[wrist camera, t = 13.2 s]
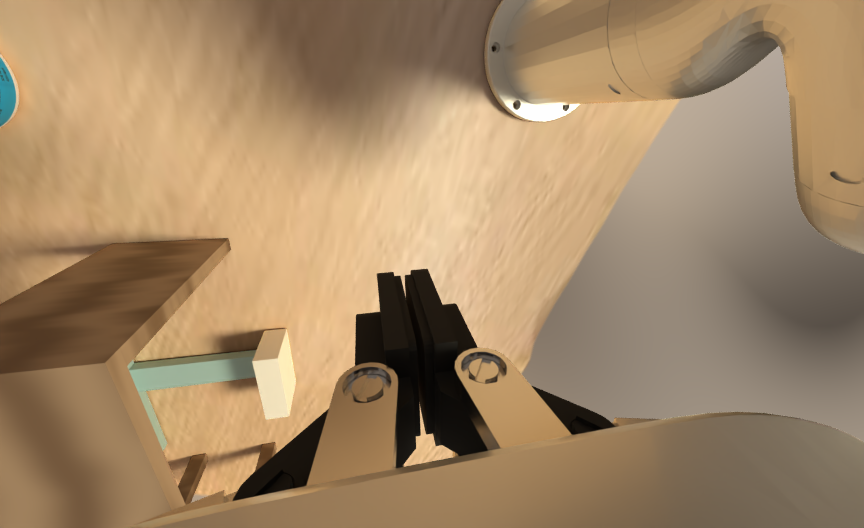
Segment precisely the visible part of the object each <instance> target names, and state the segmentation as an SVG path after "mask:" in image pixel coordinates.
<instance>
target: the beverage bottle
mask: <svg viewBox="0 0 864 528" xmlns="http://www.w3.org/2000/svg"><path fill="white" fill-rule="evenodd" d="M18 105H19V88H18V84H17V81H16V78H15V76H14V74H13V72H12V70H11V68H10V66H9V65H8V63H7V62H6V60H5V59H4V57H3V56H2V55H1V54H0V128H1V127H3V126H4V125H6V124H7V123H8V122H9V121H10V120H11V119H12V118H13V117H14V115H15V113H16V111H17V109H18Z"/></svg>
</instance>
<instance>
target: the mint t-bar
mask: <svg viewBox="0 0 864 528" xmlns="http://www.w3.org/2000/svg"><path fill="white" fill-rule="evenodd" d="M127 367H128V369H129V372H130V374H131V377H132V379H133V381H134V384H135V386H136V388H137V391H138V393H139V396H140V398H141V400H142V403H143V405H144V407H145V410H146V412H147V414H148V417H149V419H150V422H151V424H152V426H153V429H154V431H155V433H156V436H157V438H158V440H159V443H160V445H161V448H162V450H164V449H165V447H166V445H167V441H166V439H165V437H164V434H163V432H162V429H161V427H160V424H159V422H158V419H157V417H156V415H155V412H154V410H153V407H152V405H151V402H150V400H149V397H148V395H147V393H146V391H149V390H157V389H165V388H174V387H182V386H190V385H198V384H206V383H214V382H222V381H230V380H238V379H246V378H254V377H256V380H257V384H258V388H259V393H260V397H261V401H262V405H263V410H264V414H265V418H266V420H267V419H274V418H281V417H288V416H289V414H290V410H291V405H292V400H293V395H294V390H295V385H296V379H295V373H294V367H293V362H292V356H291V350H290V344H289V339H288V333H287V329H277V330H267V331H264V333H263V336H262V338H261V341H260V343H259V346H258V348H257V350H250V351H241V352H231V353H222V354H213V355H204V356H194V357H185V358H176V359H167V360H157V361H148V362H139V363H134V361H133V360H132V361H131V362H130V363H129V365H128V366H127Z"/></svg>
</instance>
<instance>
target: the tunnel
mask: <svg viewBox="0 0 864 528" xmlns="http://www.w3.org/2000/svg"><path fill="white" fill-rule="evenodd" d="M230 250H231V248H230V243H229V239H205V240H183V241H160V242H138V243H116V244H111V245H109V246H107V247H105V248H104V249H102V250H100V251H98V252H96V253H94V254H92V255H91V256H89V257H87V258H85V259H83V260H81V261H79V262H78V263H76V264H74V265H72V266H70V267H68V268H67V269H65V270H63V271H61V272H59V273H57V274H55V275H54V276H52V277H50V278H48V279H46V280H44V281H42V282H41V283H39V284H37V285H35V286H33V287H31V288H30V289H28V290H26V291H24V292H22V293H20V294H18V295H17V296H15V297H13V298H11V299H9V300H7V301H5V302H4V303H2V304H0V528H126V527H129V526H132V525H135V524H138V523H140V522H143V521H145V520H148V519H151V518H153V517H156V516H158V515H161V514H164V513H166V512H169V511H171V510H174V509H177V508H179V507H182V506H184V505H187V504H189V503H191V501H192V498H193V496H194V493H195V491H196V488H197V486H198V484H199V481H200V479H201V476H202V474H203V471H204V469H205V467H206V464H207V462H208V458H207V455H206V454H200V455H194V456H192V458H191V460H190V462H189V464H188V466H187V468H186V470H185V473H184V475H183V477H182V479H181V481H180V483H179V485H177V483H176V481H175V478H174V476H173V474H172V471H171V469H170V467H169V464H168V462H167V459H166V457H165V455H164V452H163V450H162V448H161V445H160V443H159V440H158V438H157V436H156V433H155V431H154V429H153V426H152V424H151V422H150V419H149V417H148V414H147V412H146V410H145V407H144V405H143V403H142V400H141V398H140V396H139V393H138V391H137V388H136V386H135V384H134V381H133V379H132V377H131V374H130V372H129V369H128V367H127V366H128V365H129V363H130V362H131V361H132V360H133V359H134V358H135V357H136V356H137V354H138V353H139V352H140V351H141V350H142V349H143V348H144V347H145V345H146V344H147V343H148V342H149V341H150V340H151V339H152V338H153V336H154V335H155V334H156V333H157V332H158V331H159V330H160V329H161V328H162V326H163V325H164V324H165V323H166V322H167V321H168V320H169V319H170V317H171V316H172V315H173V314H174V313H175V312H176V311H177V310H178V308H179V307H180V306H181V305H182V304H183V303H184V302H185V301H186V299H187V298H188V297H189V296H190V295H191V294H192V293H193V292H194V290H195V289H196V288H197V287H198V286H199V285H200V284H201V283H202V281H203V280H204V279H205V278H206V277H207V276H208V275H209V274H210V272H211V271H212V270H213V269H214V268H215V267H216V266H217V265H218V263H219V262H220V261H221V260H222V259H223V258H224V257H225V256H226V255H227V253H228V252H229V251H230ZM275 453H276V444H275V443H268V444H262V448H261V451H260V455H259V459H258V463H257V466H256V470H255V471H257V470H258V469H259V468H260V467H261V466H262V465H264V464H265V463H266V462H267V461H268V460H269V459H271V458H272V457H273V456H274V455H275Z"/></svg>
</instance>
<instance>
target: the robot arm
mask: <svg viewBox="0 0 864 528" xmlns="http://www.w3.org/2000/svg"><path fill="white" fill-rule="evenodd" d="M492 46H493V47H494V48H495V50H494V52H493V51H492V48H491V47H492ZM778 46H779V47H780V49H781V52H782V55H783V60H784V68H785V76H786V87H787V90H788V92H789V103H790V120H791V135H792V152H793V169H794V176H795V186H796V192H797V198H798V202H799V204H800V207H801V210H802V212H803V214H804V216H805V217H806V219H807V221H808V222H809V223H810V224H811V225H812V227H814V228H815V230H816V231H817V232H818V233H820V234H821V235H823V236H824V237H825V238H827V239H829V240H831V241H832V242H834V243H836V244H838V245H840V246H842V247H844V248H847V249H849V250H852V251H855V252H859V253H862V254H864V0H502V1H501V3H500V4H499V6H498V7H497V9H496V10H495V13H494V15H493V17H492V19H491V22H490V24H489V28H488V32H487V35H486V41H485V50H484V58H485V70H486V75H487V80H488V82H489V85H490V88H491V90H492V93H493V94H494V96H495V97H496V99H497V101H498V102H499V103H500V104H501V105H502V107H503V108H504V109H505V110H506V111H508V112H509V113H510V114H512V115H513V116H515V117H517V118H520V119H522V120H525V121H531V122H547V121H552V120H556V119H558V118H561V117H563V116H565V115H567V114H568V113H570V112H571V111H573V110H574V109H576V108H577V107H578V106H579V105H580V104H590V103H611V102H632V101H653V100H670V99H682V98H689V97H694V96H698V95H702V94H705V93H708V92H711V91H713V90H715V89H718V88H720V87H722V86H724V85H726V84H728V83H730V82H732V81H733V80H735V79H736V78H738V77H740V76H741V75H742V74H744V73H745V72H747V71H748V70H749V69H751V68H752V67H754V66H755V65H756V64H758V63H759V62H760V61H761V60H763V59H764V58H765V57H766V56H767V55H768V54H769V53H771V52H772V51H773V50H774V49H776V48H777V47H778ZM513 103H515V107H514V108H513ZM562 106H563V108H562ZM377 280H378V291H379V302H380V312H374V313H365V314H357V315H356V346H355V366H354V367H352V368H350V369H349V370H347V371H346V372H344V374H343V375H342V376H341V377H340V378H339V380H338V381H337V383H336V386H335V389H334V393H333V396H332V400H331V403H330V407H329V409H328V410H327V411H326V412H324V413H323V414H322V415H321V416H320V417H319V418H317V419H316V420H315V421H314V422H313V423H312V424H310V425H309V426H308V427H307V428H306V429H305V430H303V431H302V432H301V433H300V434H299V435H298V436H296V437H295V438H294V439H293V440H292V441H291V442H289V443H288V444H287V445H286V446H285V447H283V448H282V449H281V450H280V451H279V452H278V453H276V454H275V455H274V456H273V457H272V458H271V459H269V460H268V461H267V462H266V463H265V464H264V465H262V466H261V467H260V468H259V469H258V470H257V471H255V472H254V473H253V474H252V475H251V476H250V477H249V478H248V479H247V480H246V481H245V482H244V483H243V484H242V485H241V487H240V488H239V490H238V491H237V492H234V493H232V494H229V495H226V493H225V490H223V491H221V492H218V493H215V494H213V495H210V496H208V497H205V498H202V499H200V500H197V501H195V502H192V503H189V504H187V505H184V506H182V507H179V508H177V509H174V510H171V511H169V512H166V513H164V514H161V515H158V516H156V517H153V518H151V519H148V520H145V521H143V522H140V523H138V524H135V525H132V526H129V527H126V528H864V442H863V441H861V440H859V439H857V438H856V437H854V436H852V435H850V434H848V433H845V432H843V431H841V430H838V429H836V428H832V427H830V426H827V425H823V424H820V423H817V422H813V421H808V420H804V419H800V418H794V417H788V416H781V415H774V414H768V413H755V412H719V413H705V414H697V415H690V416H681V417H673V418H667V419H640V418H614V422H613V423H611V422H610V421H609V420H607V419H606V418H604V417H603V416H601V415H599V414H597V413H595V412H593V411H590V410H588V409H586V408H583V407H581V406H578V405H576V404H573V403H571V402H569V401H567V400H564V399H562V398H559V397H557V396H554V395H552V394H550V393H548V392H545V391H543V390H540V389H538V388H536V387H533V386H531V385H530V384H529V383H528V381H527V380H526V379H525V378H524V377H523V375H522V374H521V373H520V372H519V371H518V369H517V368H516V367H515V366H514V365H513V363H512V362H511V361H510V360H509V359H508V358H507V357H506V356H505V355H504V354H502V353H500V352H498V351H496V350H492V349H489V348H478V347H477V345H476V343H475V341H474V339H473V337H472V335H471V333H470V331H469V329H468V327H467V325H466V323H465V321H464V319H463V317H462V315H461V313H460V311H459V309H458V307H457V305H456V304H446V305H442V303H441V300H440V298H439V295H438V293H437V291H436V288H435V286H434V283H433V281H432V279H431V276H430V274H429V271H428V269H421V270H411V275H405V290H406V298H405V293H404V289H403V285H402V281H401V277H400V276H394V273H393V272H388V273H378V274H377ZM419 402H420V405H419ZM420 407H421V412H422V417H423V422H424V427H425V431H426V434H432V433H433V436H434V440H435V445H436V446H439V445H443V446H445V447H447V448H449V449H450V450H452V451H453V458H448V459H443V460H437V461H432V462H427V463H422V464H417V465H411V466H406V467H404V463H405V462H406V460H407V459H408V458H409V457H410V455H411V454H412V453H413V451H414V450H415V449H416V436H420Z"/></svg>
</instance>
